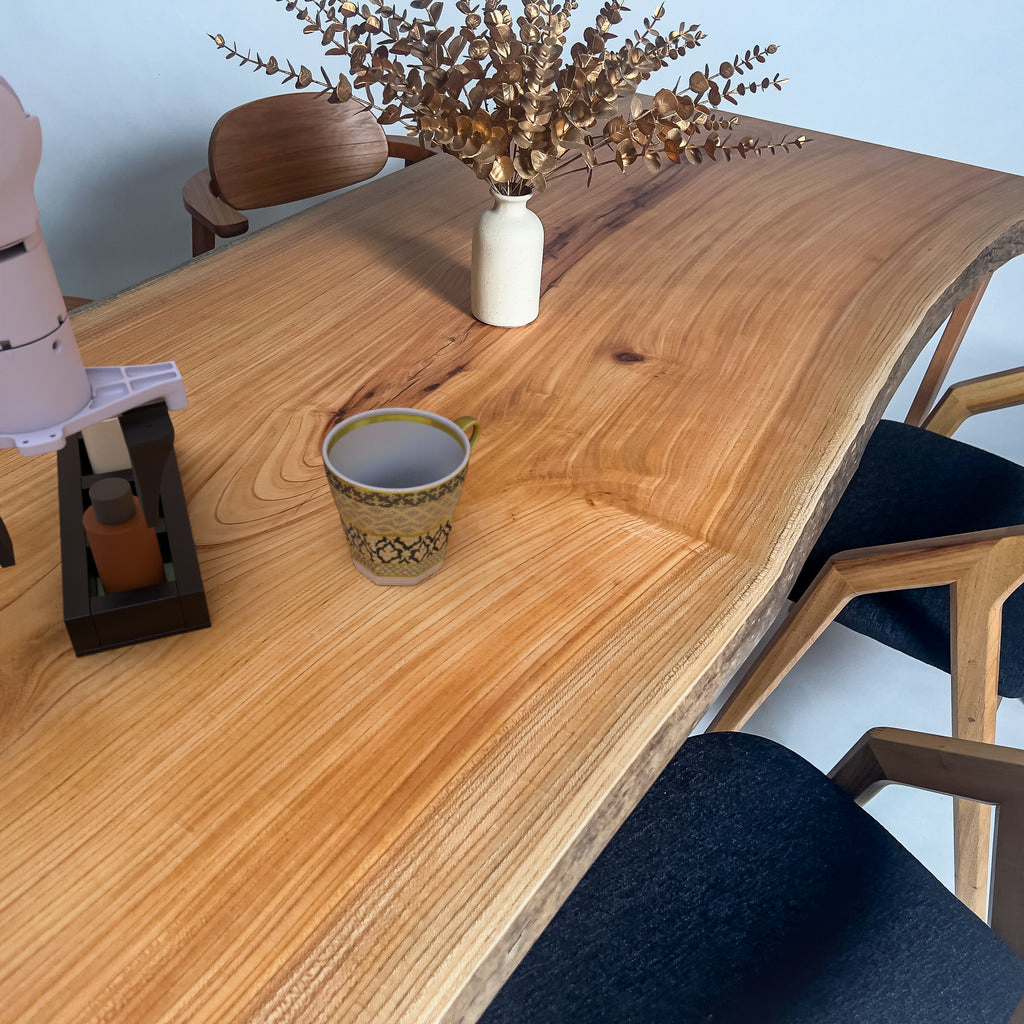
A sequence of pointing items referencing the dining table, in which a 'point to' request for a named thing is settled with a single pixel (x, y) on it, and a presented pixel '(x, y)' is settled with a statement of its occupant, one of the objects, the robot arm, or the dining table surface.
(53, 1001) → the dining table surface
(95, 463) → the cream bottle
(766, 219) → the dining table surface
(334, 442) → the ceramic cup
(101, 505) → the spice bottle
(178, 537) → the holder
